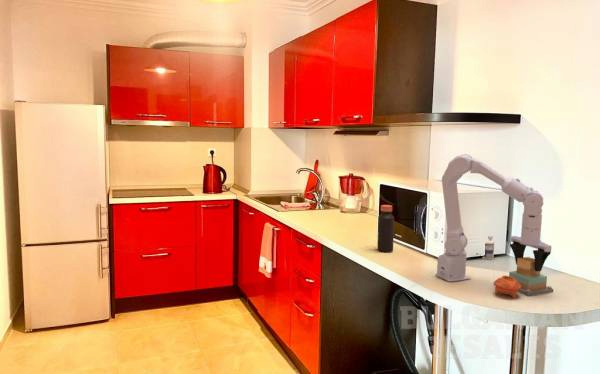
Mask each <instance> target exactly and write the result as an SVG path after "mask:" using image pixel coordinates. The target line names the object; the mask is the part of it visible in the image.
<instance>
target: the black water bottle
mask: <svg viewBox="0 0 600 374" xmlns="http://www.w3.org/2000/svg"><path fill="white" fill-rule="evenodd" d="M392 213H393V205H391V204H382V205H380V214H379V216H378V217H377V218H378V219H377V243H376V244H377V251H378V252H380V253H392V252H393V251H394V238H395V237H394V232H395V230H394V229H395V217H394V215H393V214H392Z"/></svg>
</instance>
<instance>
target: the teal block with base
mask: <svg viewBox="0 0 600 374" xmlns="http://www.w3.org/2000/svg"><path fill="white" fill-rule="evenodd" d="M508 273H509V274H508V276H509V277H513V278H515V280H516V281H517V282H518V283H519V284H520V285H521V289H520V291H518V292H517V293H520V294H523V295H525V296H527V297H531V296H537V295H543V294H549V293H553V292H554V288H553V287H552V286H551V285H548V286H547V281H548V276H547V275H545V274H541V273H540V276H533V277H527V276H524V275H521V274H519V273H517V270H513V271H509V272H508Z"/></svg>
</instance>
